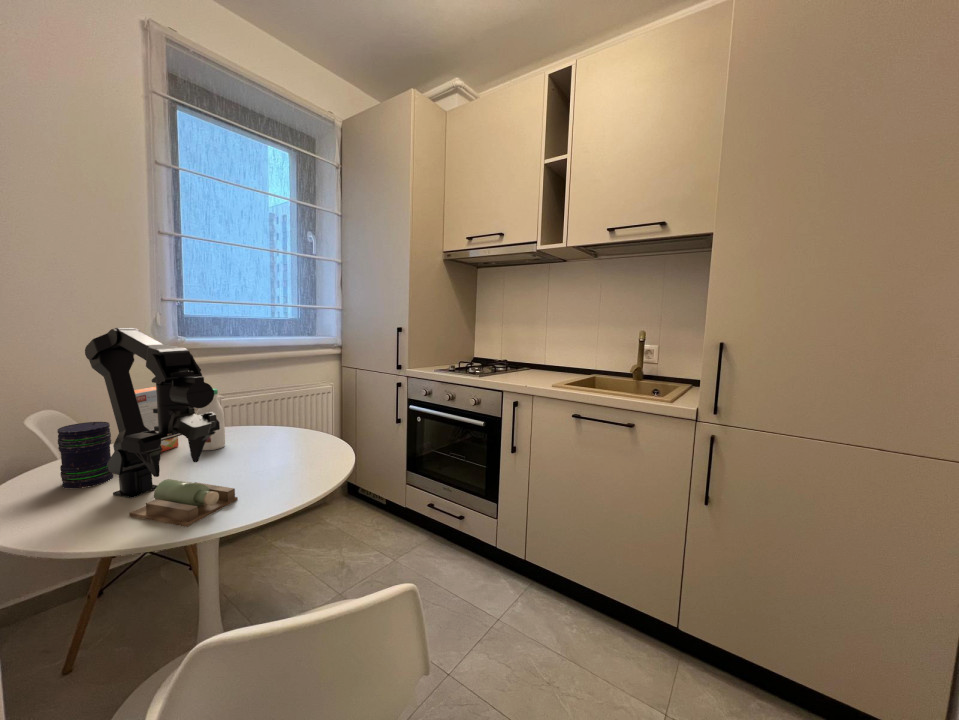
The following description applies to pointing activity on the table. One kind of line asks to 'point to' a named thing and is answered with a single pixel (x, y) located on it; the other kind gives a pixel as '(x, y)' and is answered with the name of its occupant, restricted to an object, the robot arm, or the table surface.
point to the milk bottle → (215, 407)
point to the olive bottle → (185, 493)
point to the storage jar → (84, 454)
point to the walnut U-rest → (184, 508)
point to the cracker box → (152, 414)
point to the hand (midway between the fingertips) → (176, 469)
